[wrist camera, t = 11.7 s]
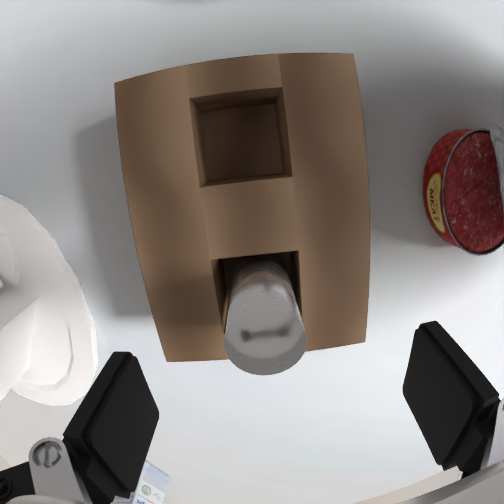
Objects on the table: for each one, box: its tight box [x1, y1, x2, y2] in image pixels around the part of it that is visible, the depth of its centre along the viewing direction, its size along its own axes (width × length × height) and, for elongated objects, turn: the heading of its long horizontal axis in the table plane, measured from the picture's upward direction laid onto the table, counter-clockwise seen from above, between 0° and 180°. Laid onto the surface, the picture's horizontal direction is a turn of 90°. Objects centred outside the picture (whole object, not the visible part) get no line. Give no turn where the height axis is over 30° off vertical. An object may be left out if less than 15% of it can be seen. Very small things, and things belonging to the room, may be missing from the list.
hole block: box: [114, 53, 370, 362], centre depth 17 cm, size 12×16×6 cm
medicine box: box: [113, 461, 168, 504], centre depth 26 cm, size 8×4×9 cm, turn 125°
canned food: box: [423, 124, 504, 256], centre depth 17 cm, size 11×10×10 cm
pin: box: [224, 252, 307, 375], centre depth 16 cm, size 3×3×9 cm
